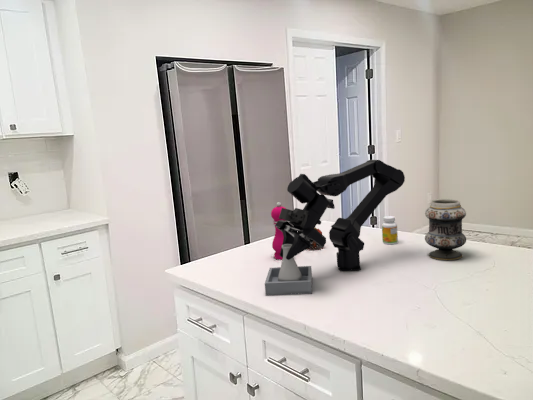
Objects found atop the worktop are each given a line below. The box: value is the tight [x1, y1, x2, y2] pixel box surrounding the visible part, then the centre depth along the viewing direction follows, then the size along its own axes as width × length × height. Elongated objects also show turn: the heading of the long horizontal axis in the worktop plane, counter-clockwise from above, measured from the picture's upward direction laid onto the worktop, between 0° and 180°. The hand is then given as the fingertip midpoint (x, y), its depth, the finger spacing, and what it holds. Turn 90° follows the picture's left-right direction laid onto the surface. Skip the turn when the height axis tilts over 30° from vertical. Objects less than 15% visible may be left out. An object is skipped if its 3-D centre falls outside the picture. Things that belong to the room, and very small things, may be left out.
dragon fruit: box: [309, 226, 323, 249], centre depth 150 cm, size 8×8×12 cm
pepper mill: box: [270, 201, 287, 261], centre depth 139 cm, size 7×7×20 cm
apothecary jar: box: [424, 198, 467, 261], centre depth 126 cm, size 12×12×18 cm
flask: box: [278, 244, 302, 282], centre depth 113 cm, size 7×7×10 cm
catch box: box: [264, 265, 313, 296], centre depth 114 cm, size 13×13×4 cm
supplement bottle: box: [381, 215, 399, 246], centre depth 146 cm, size 5×5×10 cm
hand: (283, 257), depth 112 cm, fingers closed on flask, 3 cm apart
